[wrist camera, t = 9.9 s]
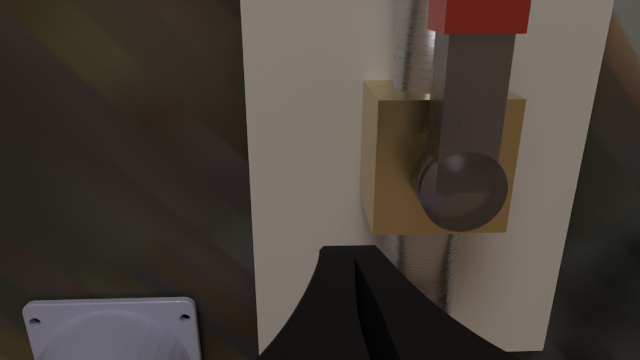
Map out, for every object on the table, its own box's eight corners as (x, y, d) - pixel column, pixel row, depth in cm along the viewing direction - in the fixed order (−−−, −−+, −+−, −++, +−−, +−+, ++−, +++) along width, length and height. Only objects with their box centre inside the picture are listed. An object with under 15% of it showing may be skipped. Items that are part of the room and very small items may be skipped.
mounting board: (531, 334, 26) (542, 350, 24) (261, 342, 25) (259, 359, 24) (628, -170, 18) (651, -181, 16) (234, -176, 17) (230, -188, 16)
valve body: (452, 314, 24) (486, 383, 20) (354, 316, 24) (366, 387, 19) (503, -111, 17) (568, -143, 13) (368, -113, 17) (391, -146, 13)
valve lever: (483, 209, 17) (504, 233, 15) (407, 211, 17) (420, 235, 15) (529, -145, 13) (563, -165, 11) (432, -146, 13) (452, -166, 11)
